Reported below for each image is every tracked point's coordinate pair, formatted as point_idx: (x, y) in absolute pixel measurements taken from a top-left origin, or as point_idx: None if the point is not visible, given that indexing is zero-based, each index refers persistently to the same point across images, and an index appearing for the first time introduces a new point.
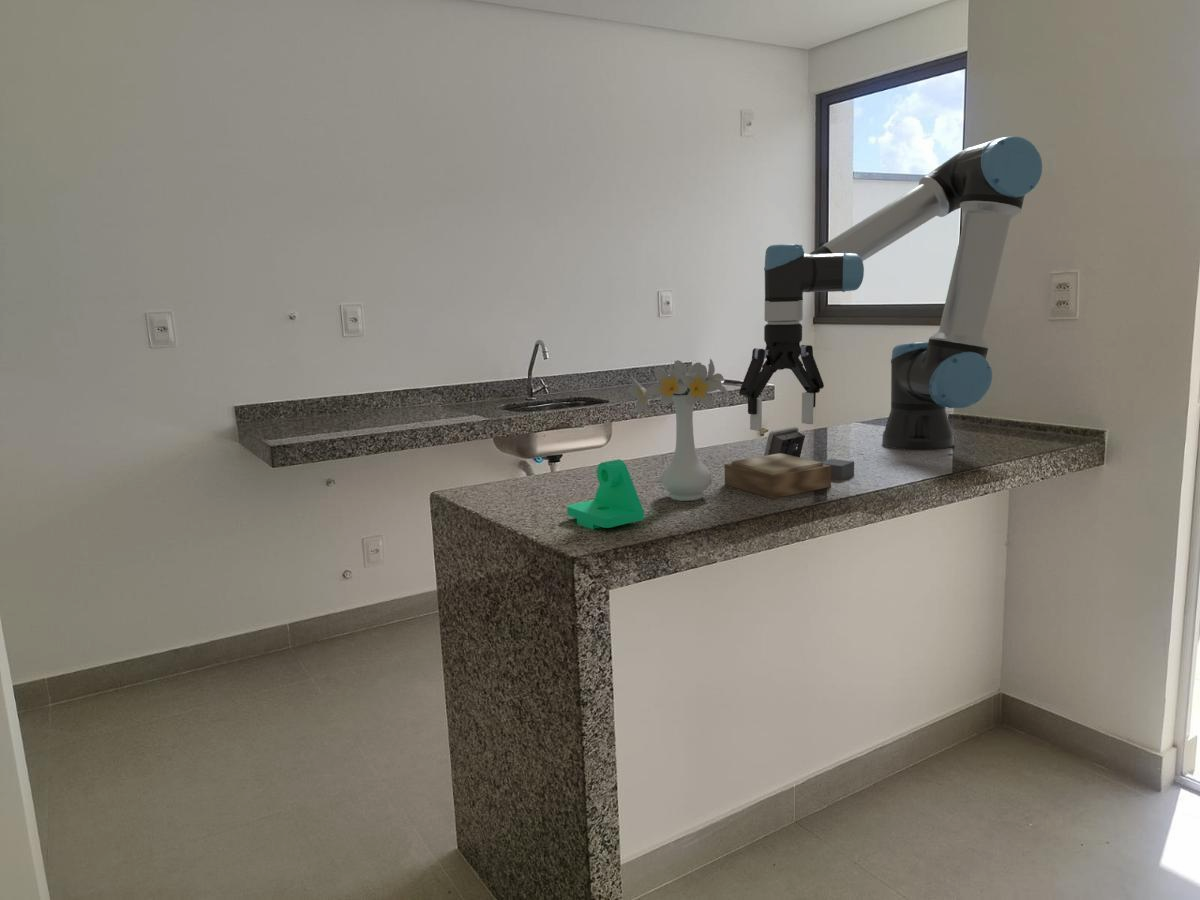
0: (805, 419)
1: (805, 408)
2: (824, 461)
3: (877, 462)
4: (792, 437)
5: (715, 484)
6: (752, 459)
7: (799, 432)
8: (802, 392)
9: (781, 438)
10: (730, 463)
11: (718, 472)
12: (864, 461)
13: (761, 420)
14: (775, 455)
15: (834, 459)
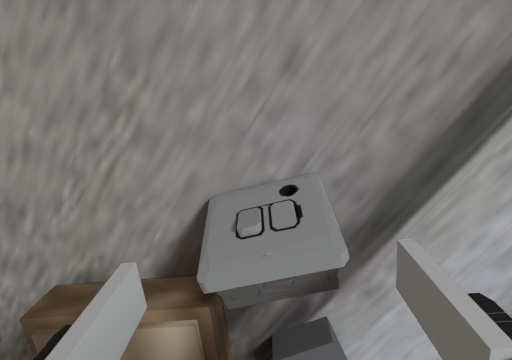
0: (403, 272)
1: (430, 303)
2: (297, 355)
3: (498, 296)
4: (277, 296)
5: (37, 272)
6: None
7: (337, 269)
8: (489, 353)
9: (230, 299)
10: (37, 319)
11: (89, 169)
12: (485, 271)
13: (129, 338)
14: (166, 340)
15: (334, 351)
